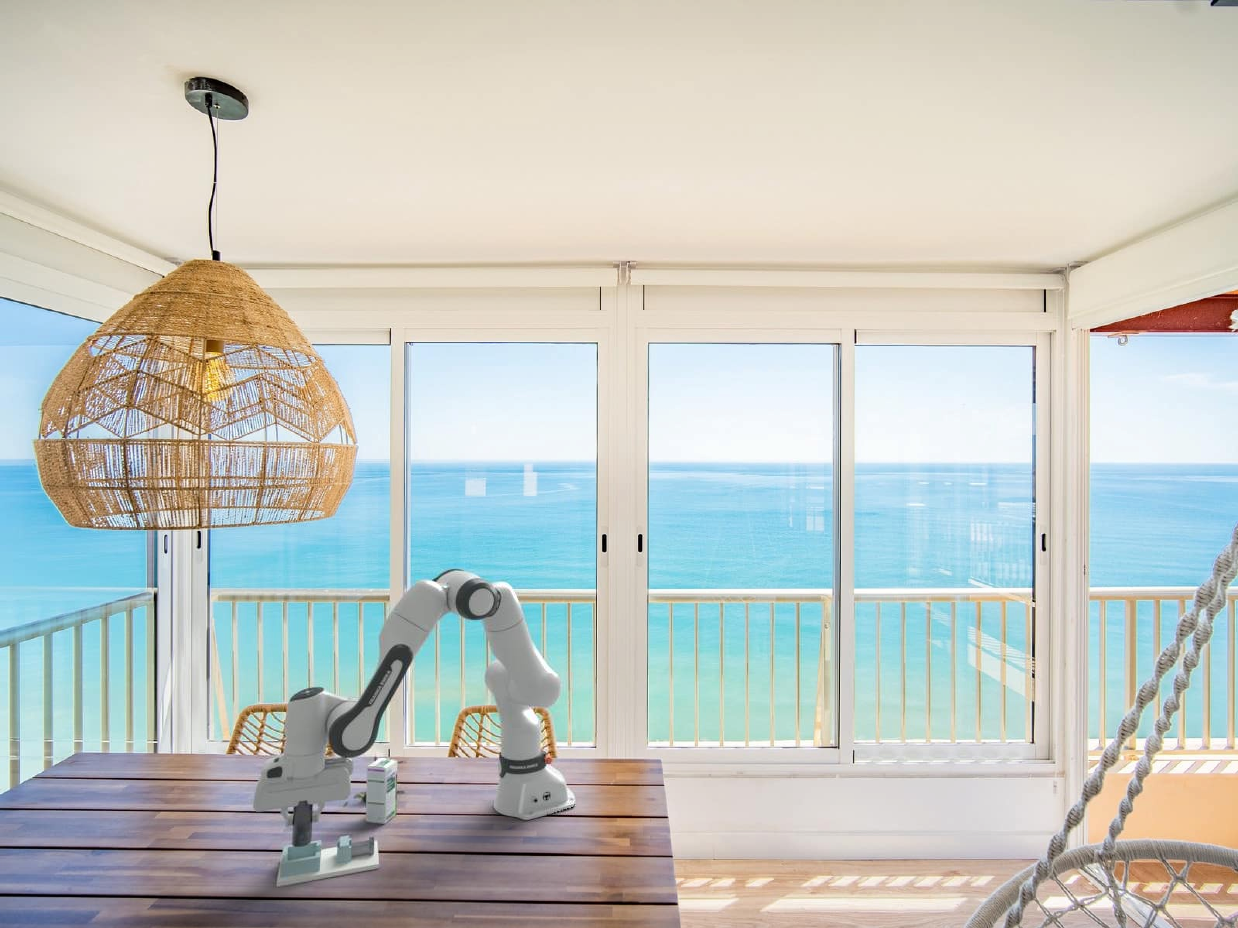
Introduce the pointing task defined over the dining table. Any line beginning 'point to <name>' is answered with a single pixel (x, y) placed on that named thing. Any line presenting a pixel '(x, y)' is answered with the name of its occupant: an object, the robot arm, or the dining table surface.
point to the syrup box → (381, 790)
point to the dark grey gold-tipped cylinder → (302, 824)
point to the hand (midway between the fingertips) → (302, 823)
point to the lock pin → (362, 847)
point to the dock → (322, 862)
